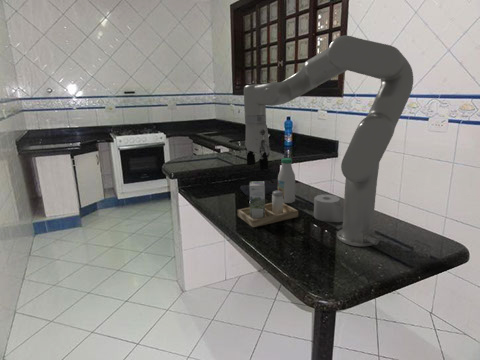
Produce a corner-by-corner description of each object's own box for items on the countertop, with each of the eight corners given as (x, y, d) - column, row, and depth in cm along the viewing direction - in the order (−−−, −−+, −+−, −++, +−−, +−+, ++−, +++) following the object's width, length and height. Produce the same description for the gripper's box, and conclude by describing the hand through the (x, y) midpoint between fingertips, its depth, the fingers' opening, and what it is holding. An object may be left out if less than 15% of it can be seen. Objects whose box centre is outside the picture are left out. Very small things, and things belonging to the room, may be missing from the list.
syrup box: (264, 215, 129) (264, 180, 125) (265, 221, 123) (264, 185, 119) (250, 215, 129) (249, 180, 126) (250, 221, 124) (249, 185, 120)
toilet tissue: (349, 225, 120) (351, 203, 118) (313, 222, 124) (313, 201, 121) (348, 216, 129) (349, 195, 126) (314, 214, 132) (314, 194, 130)
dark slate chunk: (237, 189, 169) (236, 180, 167) (276, 184, 175) (276, 176, 173) (246, 198, 154) (246, 188, 153) (288, 192, 161) (289, 183, 159)
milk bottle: (294, 199, 150) (295, 156, 144) (295, 205, 142) (296, 160, 137) (277, 199, 150) (277, 156, 145) (277, 205, 143) (277, 160, 138)
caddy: (298, 219, 127) (298, 210, 126) (253, 229, 119) (252, 220, 118) (279, 208, 139) (279, 201, 138) (237, 218, 130) (237, 209, 129)
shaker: (285, 214, 130) (285, 192, 127) (275, 216, 128) (276, 194, 125) (279, 211, 133) (279, 189, 131) (270, 213, 132) (270, 191, 129)
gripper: (277, 120, 110) (278, 169, 115) (253, 118, 125) (254, 161, 130) (258, 122, 107) (260, 173, 112) (235, 120, 122) (238, 164, 127)
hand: (257, 167), depth 121 cm, fingers open, 9 cm apart
